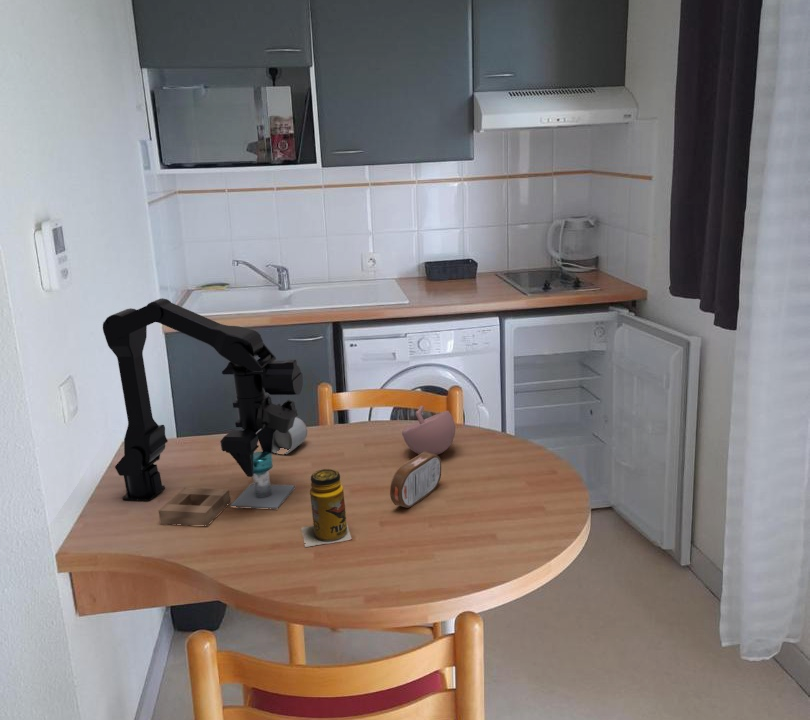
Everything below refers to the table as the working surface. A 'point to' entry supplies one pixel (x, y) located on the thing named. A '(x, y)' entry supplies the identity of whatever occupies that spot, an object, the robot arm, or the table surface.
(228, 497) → the eye block
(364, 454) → the table surface
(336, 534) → the condiment
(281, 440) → the ceramic mug
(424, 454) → the tin
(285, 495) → the slate mat
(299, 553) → the table surface
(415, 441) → the mortar and pestle
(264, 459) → the teal topped white bottle
